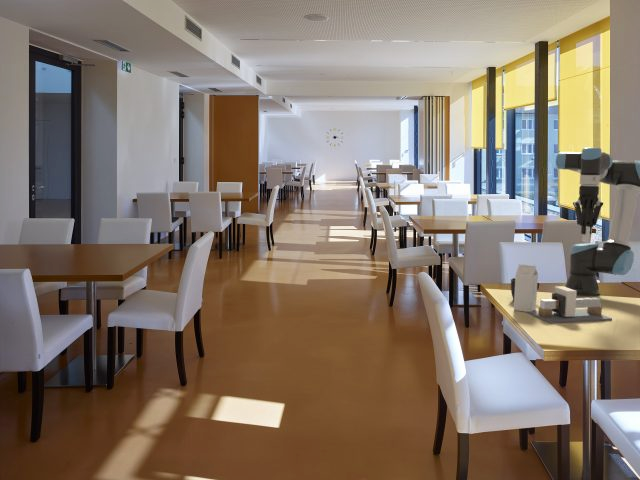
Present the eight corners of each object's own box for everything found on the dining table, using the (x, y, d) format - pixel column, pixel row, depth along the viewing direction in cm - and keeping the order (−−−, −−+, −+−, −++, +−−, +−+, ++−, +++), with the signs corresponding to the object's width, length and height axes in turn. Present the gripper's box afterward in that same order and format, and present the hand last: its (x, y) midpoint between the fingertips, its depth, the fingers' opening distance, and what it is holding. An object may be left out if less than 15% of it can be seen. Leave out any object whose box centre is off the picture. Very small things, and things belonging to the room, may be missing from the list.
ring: (554, 310, 277) (555, 292, 276) (564, 314, 270) (565, 296, 269) (551, 310, 277) (552, 293, 276) (561, 314, 270) (562, 296, 269)
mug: (536, 304, 296) (537, 283, 295) (508, 301, 302) (509, 280, 300) (539, 301, 303) (540, 279, 302) (512, 298, 309) (513, 277, 307)
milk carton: (519, 307, 291) (521, 263, 288) (535, 309, 287) (538, 264, 284) (513, 310, 285) (515, 265, 283) (530, 312, 281) (533, 267, 279)
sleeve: (562, 310, 279) (563, 286, 278) (574, 316, 271) (576, 290, 269) (553, 311, 278) (554, 286, 277) (565, 316, 270) (567, 291, 268)
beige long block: (593, 312, 280) (594, 296, 279) (601, 315, 275) (602, 299, 275) (538, 314, 275) (539, 298, 274) (545, 317, 270) (546, 301, 269)
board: (587, 310, 286) (587, 309, 286) (612, 320, 270) (612, 318, 270) (528, 313, 280) (529, 311, 280) (550, 323, 265) (550, 321, 264)
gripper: (580, 185, 278) (576, 243, 281) (609, 185, 280) (604, 243, 284) (569, 184, 285) (566, 241, 288) (597, 184, 288) (593, 240, 291)
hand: (585, 242), depth 286 cm, fingers closed
